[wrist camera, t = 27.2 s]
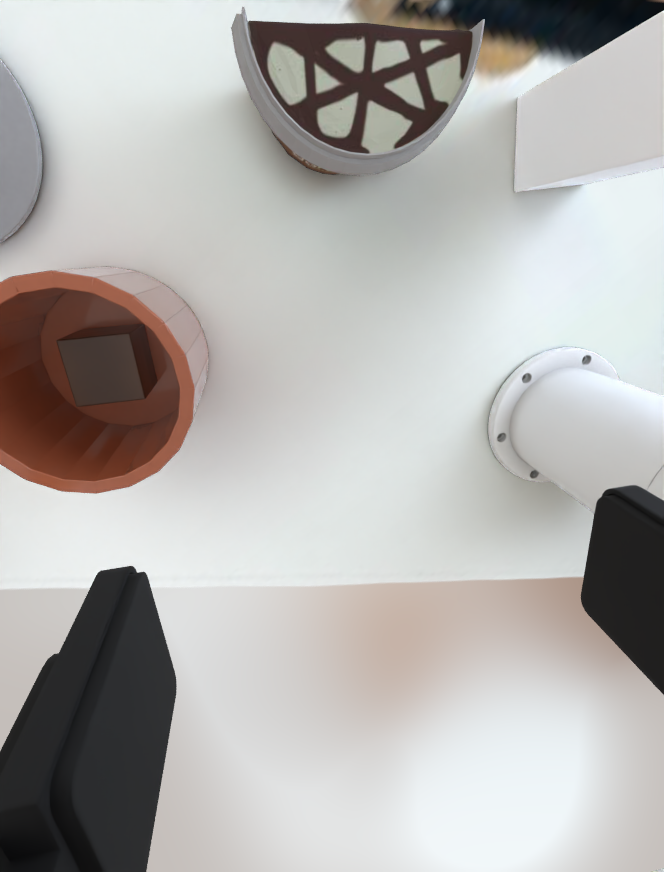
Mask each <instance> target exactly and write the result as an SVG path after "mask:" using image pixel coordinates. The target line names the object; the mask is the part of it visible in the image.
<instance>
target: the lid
mask: <svg viewBox="0 0 664 872" xmlns="http://www.w3.org/2000/svg"><path fill="white" fill-rule="evenodd" d="M41 178H42V150H41V142H40V137H39V133H38V129H37V125H36V122H35V119H34V116H33V113H32V111H31V108H30V105H29V103H28V101H27V99H26V97H25V95H24V93H23V91H22V89H21V88H20V86H19V84H18V83H17V81H16V80H15V78H14V76H13V75H12V73H11V72H10V70H9V69H8V68H7V66H6V65H5V64H4V63H3V61H2V60H1V59H0V243H1V242H3V241H4V240H6V239H7V238H8V237H10V236H11V235H12V234H14V233H15V232H16V231H17V230H18V229H19V228H20V226H21V225H22V224H23V223H24V222H25V220H26V219H27V217H28V216H29V214H30V213H31V211H32V209H33V207H34V204H35V202H36V200H37V197H38V193H39V189H40V186H41Z"/></svg>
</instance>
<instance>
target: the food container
mask: <svg viewBox="0 0 664 872" xmlns="http://www.w3.org/2000/svg"><path fill="white" fill-rule="evenodd" d="M484 22H485V20H482V21H481V22H480V23H478V24H477V25H476V26H475V27H473V28H472V29H471V30H470V31H463V30H458V29H457V30H425V29H413V28H402V27H394V26H386V25H377V24H369V23H344V24H306V23H284V22H262V21H249V22H248V21H247V17H246V13H245V9H244V7H242V14H236V17H235V19H234V22H233V25H232V27H231V29H232V35H233V42H234V48H235V53H236V57H237V60H238V64H239V68H240V71H241V75H242V78H243V80H244V82H245V85H246V87H247V90H248V92H249V94H250V97H251V99H252V101H253V102H254V104H255V106H256V108H257V109H258V111H259V113H260V114H261V116H262V118H263V119H264V121H265V122H266V123H267V124H268V126H269V127H270V128H271V130H272V132H273V134H274V136H275V137H276V138H277V140H278V141H279V142H280V144H281V145H282V146H283V148H284V149H285V150H286V152H287V153H288V154H289V155H290V156H291V157H293V158H294V159H295V160H297V161H298V162H299V163H301V164H302V165H303V166H305V167H306V168H308V169H311V170H314V171H317V172H320V173H323V174H333V175H334V174H347V175H358V176H360V175H371V174H378V173H381V172H385V171H388V170H392V169H394V168H396V167H398V166H400V165H402V164H404V163H406V162H409V161H410V160H411V159H413V158H414V157H416V156H417V155H418V154H420V153H421V152H422V151H424V150H425V149H426V148H427V147H428V146H429V145H430V144H431V143H432V142H433V141H434V140H435V139H436V138H437V137H438V136H439V134H440V133H441V131H442V130H443V129H444V127H445V126H446V125H447V123H448V122H449V121H450V119H451V117H452V116H453V114H454V113H455V111H456V109H457V107H458V106H459V104H460V102H461V100H462V98H463V97H464V95H465V93H466V91H467V89H468V86H469V84H470V81H471V79H472V76H473V74H474V71H475V67H476V63H477V60H478V56H479V52H480V48H481V42H482V36H483V29H484Z"/></svg>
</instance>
